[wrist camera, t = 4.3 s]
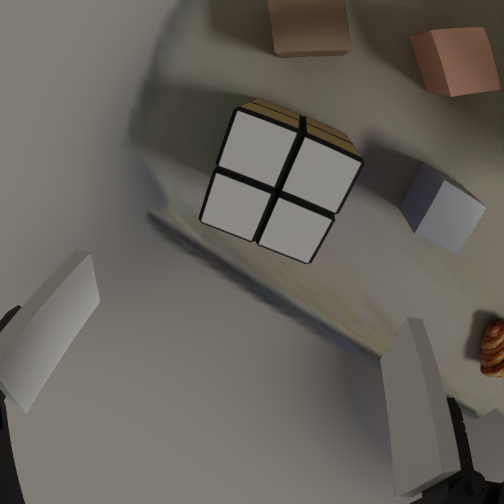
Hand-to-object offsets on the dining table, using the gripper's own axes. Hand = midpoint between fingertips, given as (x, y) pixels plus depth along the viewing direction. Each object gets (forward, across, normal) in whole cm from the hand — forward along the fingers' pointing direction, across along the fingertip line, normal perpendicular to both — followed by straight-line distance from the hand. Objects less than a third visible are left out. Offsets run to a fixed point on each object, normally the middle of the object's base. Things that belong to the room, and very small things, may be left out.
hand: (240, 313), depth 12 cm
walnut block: (+23, 0, +14) cm, 27 cm away
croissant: (+23, +45, -21) cm, 54 cm away
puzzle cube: (+23, 0, 0) cm, 23 cm away
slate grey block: (+23, +18, 0) cm, 29 cm away
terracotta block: (+23, +14, +15) cm, 31 cm away
